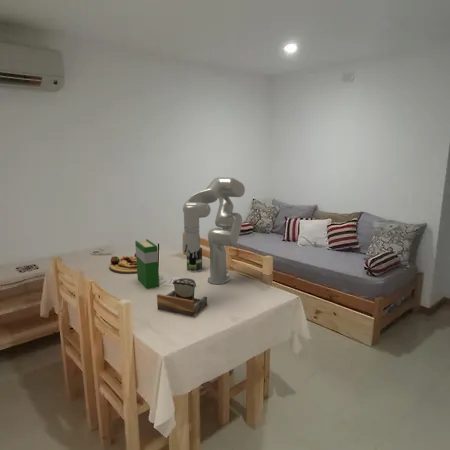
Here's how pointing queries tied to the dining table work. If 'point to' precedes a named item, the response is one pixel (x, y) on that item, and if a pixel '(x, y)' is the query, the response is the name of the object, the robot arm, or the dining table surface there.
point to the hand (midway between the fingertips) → (192, 264)
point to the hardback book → (147, 264)
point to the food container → (184, 288)
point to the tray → (180, 304)
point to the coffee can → (198, 263)
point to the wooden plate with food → (124, 264)
